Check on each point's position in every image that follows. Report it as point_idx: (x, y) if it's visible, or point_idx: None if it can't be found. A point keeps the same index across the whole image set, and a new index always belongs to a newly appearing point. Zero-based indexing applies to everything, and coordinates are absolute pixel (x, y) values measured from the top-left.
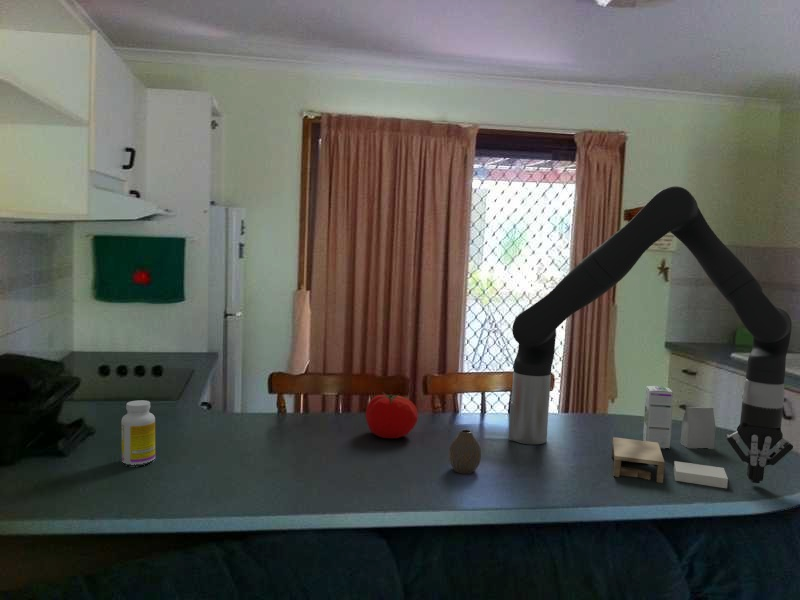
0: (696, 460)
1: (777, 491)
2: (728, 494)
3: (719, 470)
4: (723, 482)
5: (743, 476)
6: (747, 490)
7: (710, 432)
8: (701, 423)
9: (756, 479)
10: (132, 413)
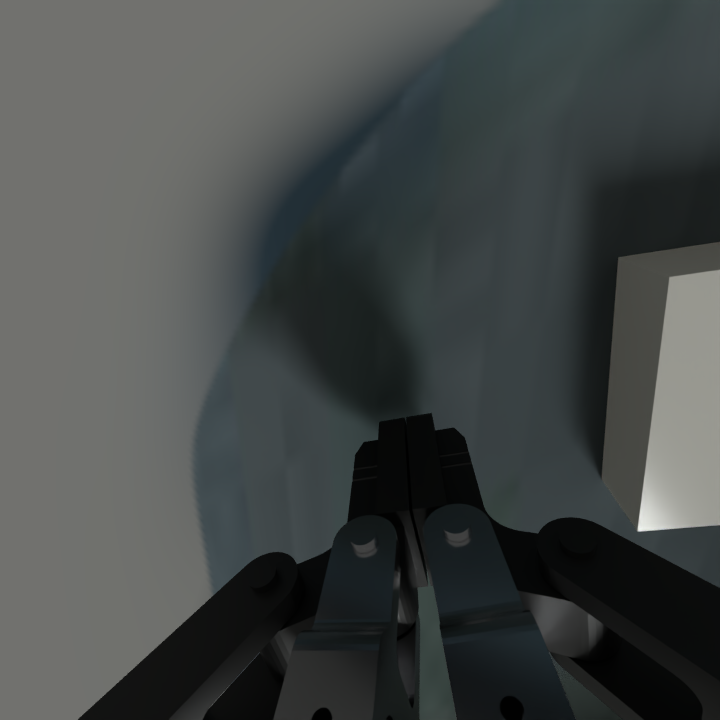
0: None
1: (269, 404)
2: (638, 87)
3: (691, 462)
4: (679, 263)
5: None
6: (459, 305)
7: None
8: None
9: (403, 430)
10: None
